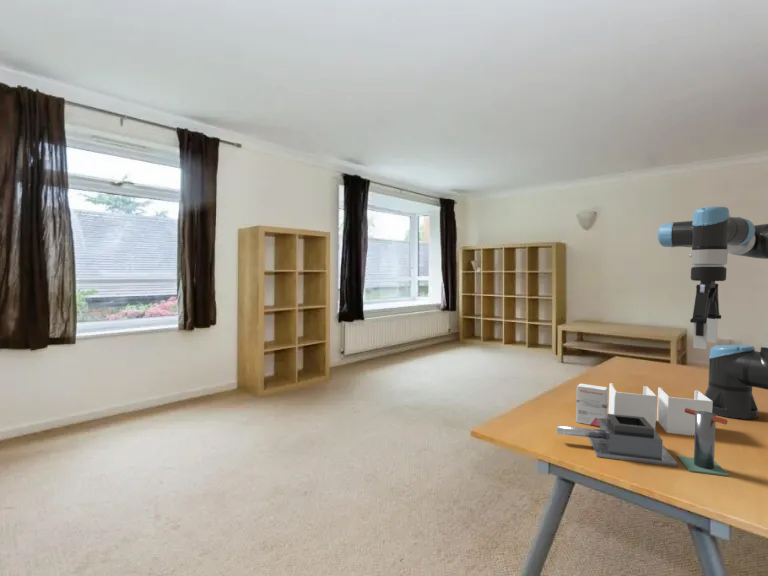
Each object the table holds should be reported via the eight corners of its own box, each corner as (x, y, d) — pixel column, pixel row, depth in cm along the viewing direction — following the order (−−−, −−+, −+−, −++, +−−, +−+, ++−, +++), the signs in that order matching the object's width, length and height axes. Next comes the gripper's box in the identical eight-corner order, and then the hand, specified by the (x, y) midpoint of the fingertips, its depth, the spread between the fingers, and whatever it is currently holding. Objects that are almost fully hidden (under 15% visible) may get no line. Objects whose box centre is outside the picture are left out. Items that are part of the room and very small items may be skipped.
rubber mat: (713, 461, 107) (713, 460, 107) (729, 476, 100) (729, 474, 100) (677, 457, 110) (677, 455, 109) (689, 471, 102) (689, 469, 102)
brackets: (614, 427, 131) (615, 392, 130) (608, 415, 141) (609, 383, 141) (710, 438, 123) (712, 401, 122) (697, 425, 133) (698, 390, 132)
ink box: (608, 423, 133) (609, 386, 133) (605, 428, 129) (607, 390, 129) (578, 418, 138) (579, 382, 137) (575, 422, 134) (576, 385, 133)
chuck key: (689, 456, 109) (691, 407, 109) (729, 471, 101) (731, 418, 100) (679, 459, 108) (681, 409, 107) (719, 475, 99) (720, 420, 99)
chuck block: (658, 444, 118) (659, 415, 117) (676, 466, 104) (678, 435, 104) (554, 432, 126) (555, 406, 125) (559, 452, 112) (560, 422, 112)
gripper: (701, 266, 123) (698, 337, 125) (680, 265, 106) (676, 349, 108) (734, 266, 118) (730, 341, 119) (717, 265, 101) (713, 353, 102)
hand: (705, 345), depth 113 cm, fingers open, 13 cm apart
